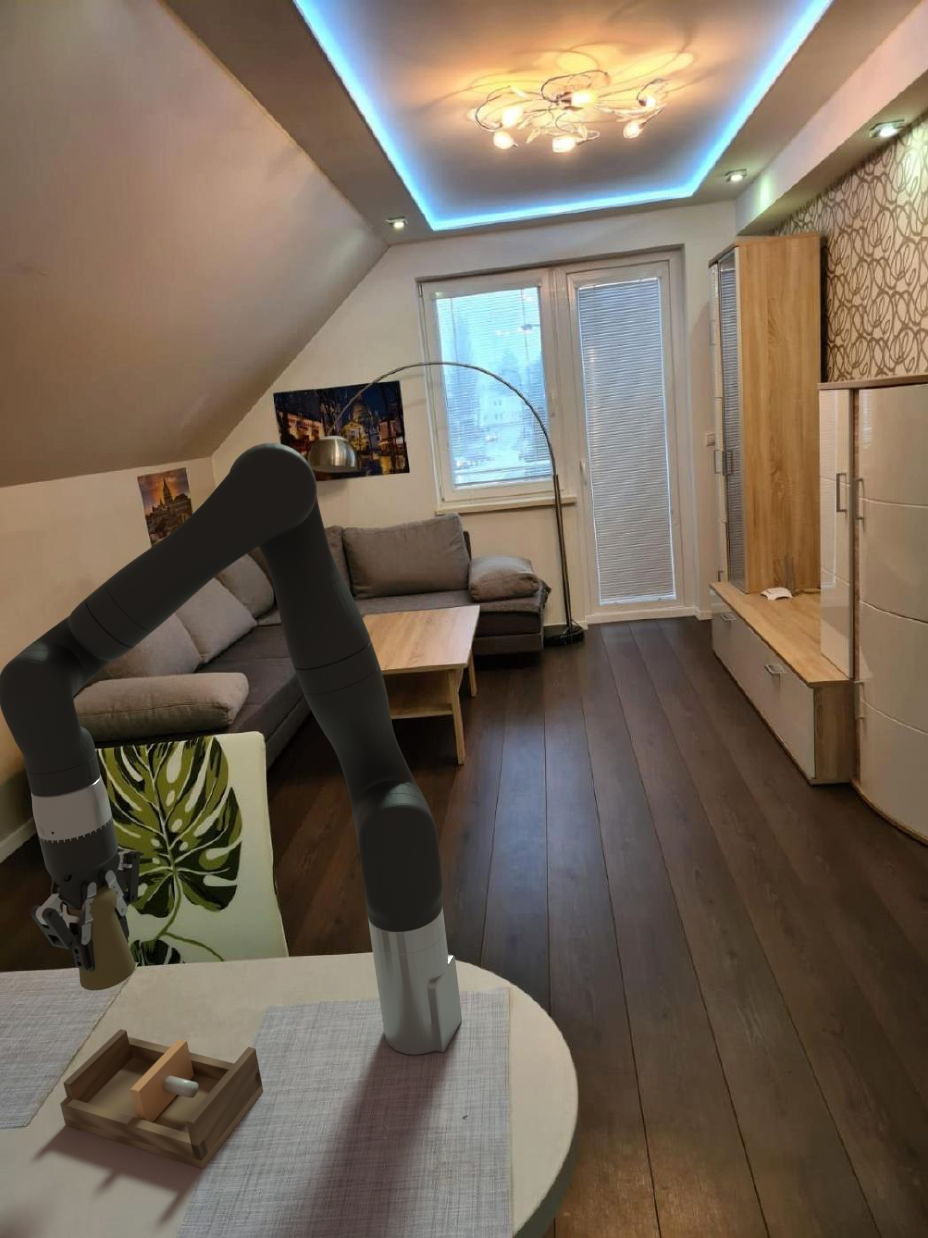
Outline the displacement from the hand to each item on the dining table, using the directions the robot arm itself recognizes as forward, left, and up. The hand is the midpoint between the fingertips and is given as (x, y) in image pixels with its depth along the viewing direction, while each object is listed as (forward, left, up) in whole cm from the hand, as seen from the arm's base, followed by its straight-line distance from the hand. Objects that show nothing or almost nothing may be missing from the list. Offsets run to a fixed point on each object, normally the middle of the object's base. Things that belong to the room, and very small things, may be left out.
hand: (105, 956), depth 97 cm
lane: (-5, 0, -19) cm, 20 cm away
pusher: (-7, 0, -18) cm, 19 cm away
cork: (0, 0, -2) cm, 2 cm away
